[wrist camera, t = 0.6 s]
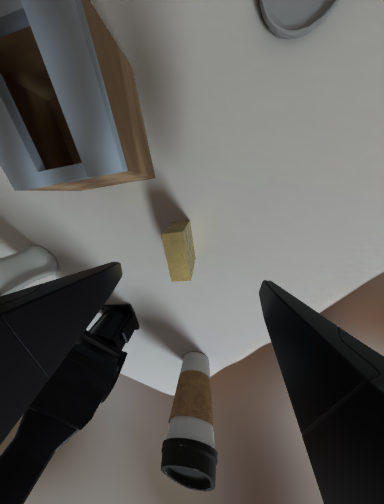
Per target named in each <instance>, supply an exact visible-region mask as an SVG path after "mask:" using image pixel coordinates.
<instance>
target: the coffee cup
mask: <svg viewBox="0 0 384 504" xmlns="http://www.w3.org/2000/svg"><path fill="white" fill-rule="evenodd" d="M214 430H215V429H214V417H213V405H212V393H211V382H210V369H209V360H208V358H207V357H206V356H205V355H204V354H202V353H199V352H190V353H187V354H186V355H185V356H184V359H183V363H182V368H181V372H180V376H179V380H178V384H177V389H176V393H175V397H174V401H173V406H172V410H171V414H170V418H169V428H168V433H167V437H166V440H164V442H163V447H162V463H161V471H162V472H163V473H164V474H165V475H167V476H168V477H169V478H171V479H172V480H174V481H175V482H177V483H179V484H180V485H182V486H184V487H186V488H189V489H193V490H199V491H211V490H213V489H214V488H215V477H216V465H217V454H218V453H217V451H216V450H215V447H214Z"/></svg>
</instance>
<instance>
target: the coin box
mask: <svg viewBox="0 0 384 504" xmlns="http://www.w3.org/2000/svg"><path fill="white" fill-rule="evenodd" d="M0 165H1V167H2V169H3V171H4V172H5V174H6V176H7V178H8V179H9V181H10V183H11V185H12V186H13V188H14V190H42V191H82V190H88V189H94V188H99V187H105V186H111V185H117V184H122V183H128V182H134V181H139V180H145V179H151V178H155V174H154V170H153V165H152V160H151V155H150V151H149V146H148V141H147V137H146V132H145V127H144V123H143V118H142V113H141V109H140V104H139V99H138V94H137V90H136V85H135V80H134V76H133V71H132V68H131V66H130V64H129V63H128V61H127V60H126V58H125V56H124V55H123V53H122V52H121V50H120V48H119V47H118V45H117V44H116V42H115V40H114V39H113V37H112V36H111V34H110V32H109V31H108V29H107V28H106V26H105V24H104V23H103V21H102V20H101V18H100V16H99V15H98V13H97V12H96V10H95V8H94V7H93V5H92V4H91V2H90V0H0Z"/></svg>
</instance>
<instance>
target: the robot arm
mask: <svg viewBox="0 0 384 504" xmlns="http://www.w3.org/2000/svg"><path fill="white" fill-rule="evenodd" d="M121 277H122V268H121V264H120V263H119V262H111V263H108V264H104V265H101V266H98V267H95V268H91V269H88V270H85V271H82V272H78V273H75V274H72V275H69V276H65V277H62V278H59V279H56V280H53V281H49V282H46V283H44V284H39V285H36V286H33V287H30V288H26V289H23V290H20V291H16V292H13V293H9V294H6V295H2V296H0V445H1V443H2V442H3V441H4V439H5V438H6V437H7V435H8V434H9V433H10V431H11V430H12V428H13V427H14V426H15V424H16V423H17V422H18V420H19V419H20V418H21V416H22V415H23V416H22V419H21V422H20V424H19V427H18V429H17V432H16V434H15V437H14V438H13V439H12V441H11V442H10V443H9V445H8V446H7V447H6V449H4V451H3V452H2V453H1V455H0V504H24V502H25V500H26V499H27V497H28V495H29V494H30V492H31V491H32V489H33V487H34V485H35V484H36V482H37V481H38V479H39V477H40V475H41V474H42V472H43V470H44V469H45V467H46V466H47V464H48V462H49V461H50V459H51V457H52V456H53V454H54V453H55V452H56V451H57V450H58V449H59V448H60V447H61V446H62V445H63V444H64V443H66V441H68V440H69V439H70V438H71V437H72V436H73V435H74V434H75V433H76V432H77V431H78V430H81V429H82V428H83V427H84V426H85V425H86V424H87V423H88V422H89V421H90V420H91V419H92V417H93V415H94V413H95V411H96V409H97V408H98V406H99V404H100V403H102V402H104V401H105V399H106V398H107V396H108V395H109V394H110V392H111V390H112V389H113V387H114V385H115V383H116V381H117V379H118V376H119V374H120V371H121V369H122V366H123V364H124V361H125V359H126V356H127V353H126V352H123V351H122V349H123V347H124V345H125V343H128V341H129V339H130V338H131V336H132V334H133V332H134V330H138V329H139V324H138V322H137V319H136V317H135V314H134V312H133V309H132V307H131V305H104V304H105V302H106V301H107V300H108V298H109V297H110V295H111V294H112V292H113V290H114V289H115V287H116V285H117V284H118V282H119V280H120V279H121ZM259 296H260V301H261V306H262V311H263V316H264V320H265V323H266V326H267V329H268V333H269V336H270V339H271V342H272V345H273V348H274V351H275V354H276V357H277V360H278V363H279V366H280V369H281V372H282V376H283V378H284V382H285V385H286V388H287V391H288V394H289V397H290V400H291V403H292V406H293V409H294V412H295V415H296V418H297V422H298V425H299V428H300V431H301V433H302V438H303V441H304V444H305V447H306V450H307V453H308V456H309V459H310V462H311V465H312V468H313V471H314V474H315V478H316V480H317V484H318V486H319V490H320V493H321V495H322V499H323V502H324V504H384V356H382V355H380V354H379V353H377V352H376V351H374V350H373V349H371V348H370V347H368V346H367V345H365V344H363V343H362V342H360V341H359V340H357V339H356V338H354V337H353V336H351V335H350V334H348V333H347V332H345V331H344V330H342V329H341V328H340V327H337V326H336V325H335V324H334V323H332V322H331V321H329V320H327V319H326V318H325V317H323V316H322V315H320V314H319V313H317V312H316V311H315V310H313V309H312V308H310V307H309V306H307V305H306V304H304V303H303V302H301V301H300V300H298V299H297V298H295V297H294V296H292V295H291V294H290V293H288V292H287V291H285V290H284V289H282V288H281V287H279V286H278V285H276V284H275V283H273V282H272V281H267V280H264V281H263V282H262V285H261V288H260V291H259ZM100 309H101V310H102V312H103V315H102V316H101V317H100V318H99V319H98V321H97V322H96V323H95V324H94V325H93V326H92V328H91V329H90V330H89V331H87V330H86V328H87V327H88V325H89V324H90V323H91V321H92V320H93V319H94V317H95V316H96V315H97V313H98V312H99V311H100Z"/></svg>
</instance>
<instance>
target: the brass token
mask: <svg viewBox="0 0 384 504" xmlns="http://www.w3.org/2000/svg"><path fill="white" fill-rule="evenodd" d="M161 237H162V241H163V246H164V250H165V254H166V259H167V263H168V267H169V272H170V276H171V280H172V282H173V281H191V279H192V274H193V269H194V263H195V252H194V245H193V238H192V231H191V224H190V221H183V222H175V223H173V224H172V225H171V226H169V227H168V228H167V229H166V230H165V231H164V232H163V233H162V234H161Z"/></svg>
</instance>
